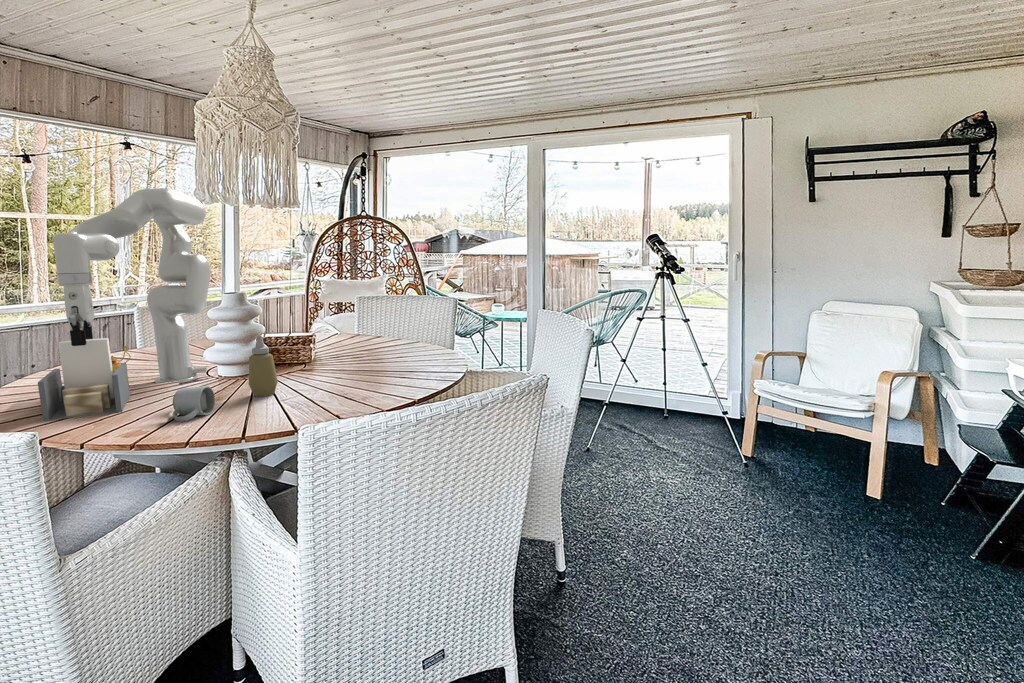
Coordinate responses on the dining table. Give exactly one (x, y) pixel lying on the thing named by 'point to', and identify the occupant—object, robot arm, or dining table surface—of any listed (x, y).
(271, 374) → the squeeze bottle
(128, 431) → the dining table surface
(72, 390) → the oak offcut tall
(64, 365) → the white panel
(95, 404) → the oak offcut short
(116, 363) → the magic lamp
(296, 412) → the dining table surface
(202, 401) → the ceramic mug
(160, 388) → the dining table surface
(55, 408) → the rack
